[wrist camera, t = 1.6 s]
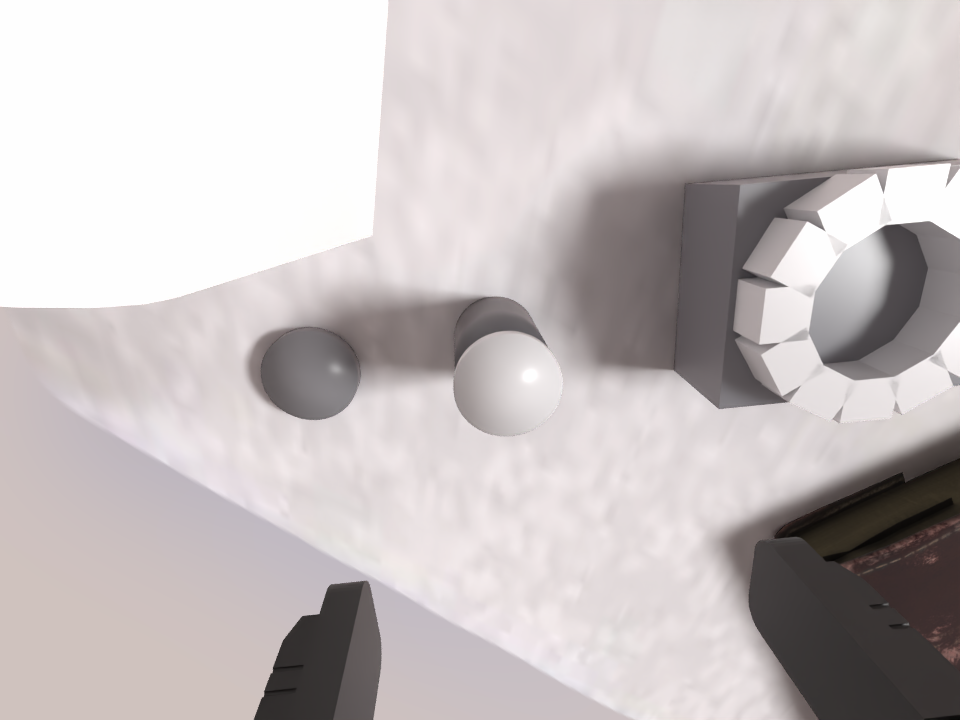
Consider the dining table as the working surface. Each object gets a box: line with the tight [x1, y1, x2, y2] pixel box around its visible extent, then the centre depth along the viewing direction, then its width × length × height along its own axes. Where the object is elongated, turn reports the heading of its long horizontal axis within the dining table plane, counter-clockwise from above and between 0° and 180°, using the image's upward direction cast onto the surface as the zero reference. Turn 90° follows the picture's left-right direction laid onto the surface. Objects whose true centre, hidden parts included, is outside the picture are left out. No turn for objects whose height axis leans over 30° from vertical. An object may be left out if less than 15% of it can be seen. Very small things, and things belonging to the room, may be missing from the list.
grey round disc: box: [261, 327, 361, 420], centre depth 27 cm, size 5×5×1 cm
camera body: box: [674, 159, 960, 423], centre depth 22 cm, size 10×14×9 cm
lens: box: [454, 297, 563, 436], centre depth 23 cm, size 4×4×7 cm
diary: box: [775, 458, 960, 671], centre depth 33 cm, size 19×25×5 cm
